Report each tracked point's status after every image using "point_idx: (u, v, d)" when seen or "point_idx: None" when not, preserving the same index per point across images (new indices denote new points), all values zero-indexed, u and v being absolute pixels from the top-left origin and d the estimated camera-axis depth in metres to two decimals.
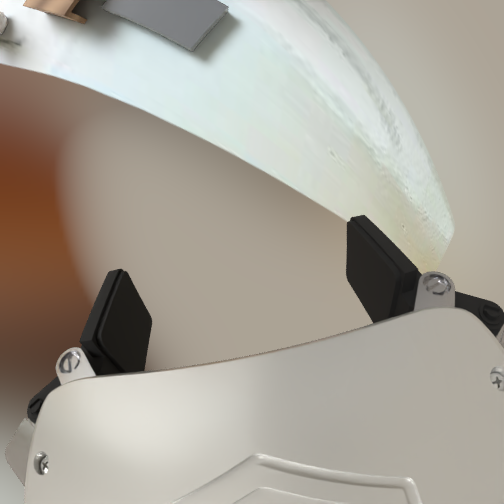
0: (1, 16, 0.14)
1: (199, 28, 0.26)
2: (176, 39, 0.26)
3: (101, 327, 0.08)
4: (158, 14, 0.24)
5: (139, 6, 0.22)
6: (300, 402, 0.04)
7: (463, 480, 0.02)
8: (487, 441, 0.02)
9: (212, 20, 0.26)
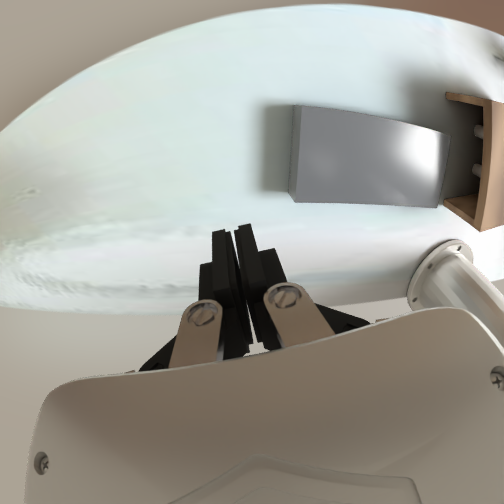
0: None
1: (311, 144, 0.20)
2: (332, 111, 0.19)
3: (232, 277, 0.09)
4: (378, 141, 0.20)
5: (408, 148, 0.21)
6: (300, 402, 0.04)
7: (463, 480, 0.02)
8: (487, 441, 0.02)
9: (300, 167, 0.21)
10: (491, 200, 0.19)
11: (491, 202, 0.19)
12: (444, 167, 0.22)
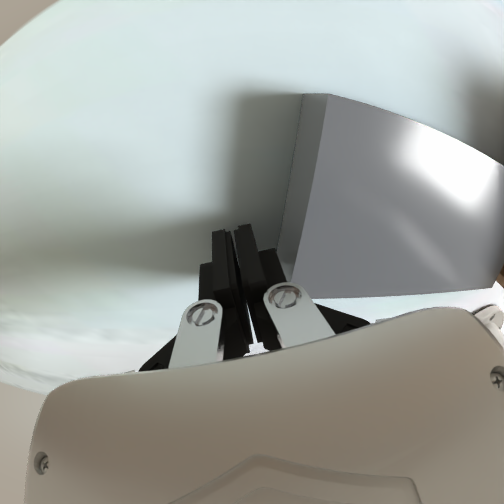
0: None
1: (337, 187, 0.09)
2: (390, 118, 0.08)
3: (232, 276, 0.09)
4: (455, 190, 0.10)
5: (488, 203, 0.10)
6: (300, 402, 0.04)
7: (463, 480, 0.02)
8: (487, 441, 0.02)
9: (307, 235, 0.10)
10: None
11: None
12: None
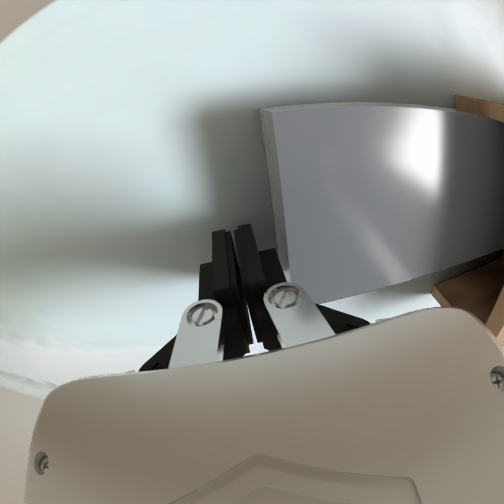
0: None
1: (310, 199, 0.09)
2: (347, 112, 0.08)
3: (232, 277, 0.09)
4: (443, 162, 0.09)
5: (486, 163, 0.09)
6: (300, 402, 0.04)
7: (463, 480, 0.02)
8: (487, 441, 0.02)
9: (293, 250, 0.10)
10: None
11: None
12: None
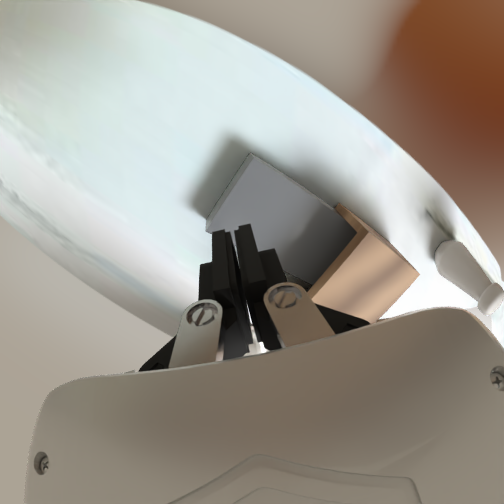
0: (441, 268, 0.32)
1: (242, 192, 0.24)
2: (276, 175, 0.23)
3: (232, 277, 0.09)
4: (302, 217, 0.26)
5: (327, 234, 0.27)
6: (300, 402, 0.04)
7: (463, 480, 0.02)
8: (487, 441, 0.02)
9: (224, 206, 0.24)
10: None
11: None
12: None
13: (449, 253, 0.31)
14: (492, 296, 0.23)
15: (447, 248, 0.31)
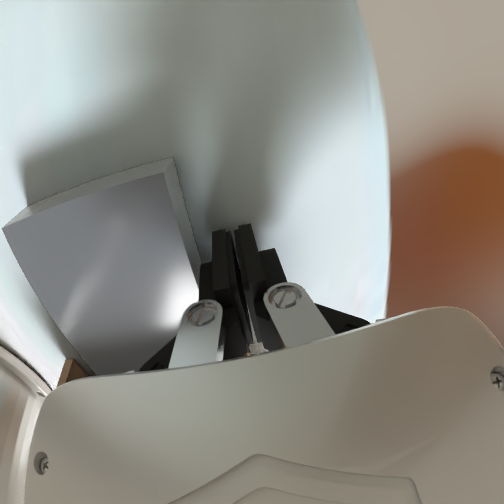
0: None
1: (91, 219, 0.09)
2: (176, 240, 0.10)
3: (232, 277, 0.09)
4: (165, 333, 0.12)
5: None
6: (300, 402, 0.04)
7: (463, 480, 0.02)
8: (487, 441, 0.02)
9: (47, 215, 0.08)
10: None
11: None
12: None
13: None
14: None
15: None
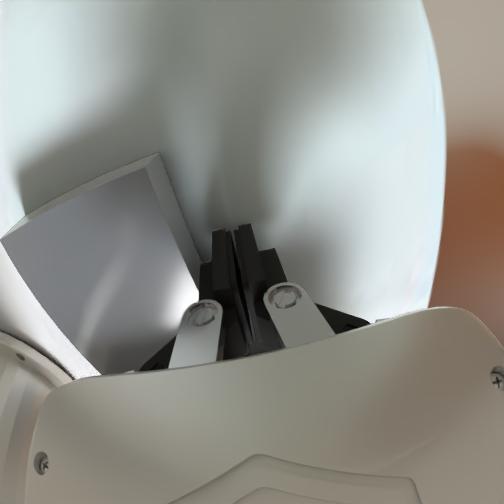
0: None
1: (81, 221, 0.09)
2: (165, 234, 0.09)
3: (232, 277, 0.09)
4: (167, 331, 0.12)
5: None
6: (300, 402, 0.04)
7: (463, 480, 0.02)
8: (487, 441, 0.02)
9: (40, 221, 0.08)
10: None
11: None
12: None
13: None
14: None
15: None
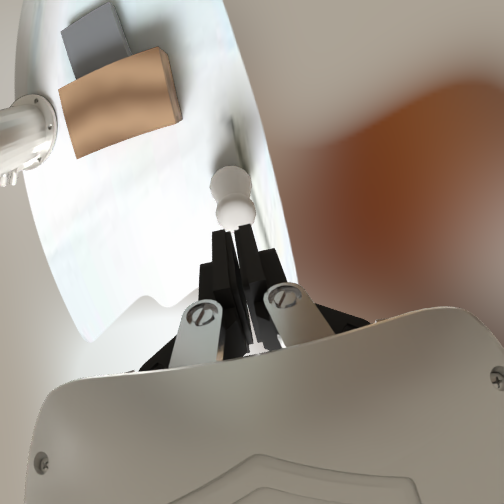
0: (212, 178, 0.36)
1: (90, 17, 0.21)
2: (111, 14, 0.22)
3: (232, 277, 0.09)
4: (106, 45, 0.24)
5: None
6: (300, 402, 0.04)
7: (463, 480, 0.02)
8: (487, 441, 0.02)
9: (78, 21, 0.21)
10: (82, 84, 0.23)
11: (80, 86, 0.23)
12: None
13: (228, 168, 0.36)
14: (234, 197, 0.28)
15: None
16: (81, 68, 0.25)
